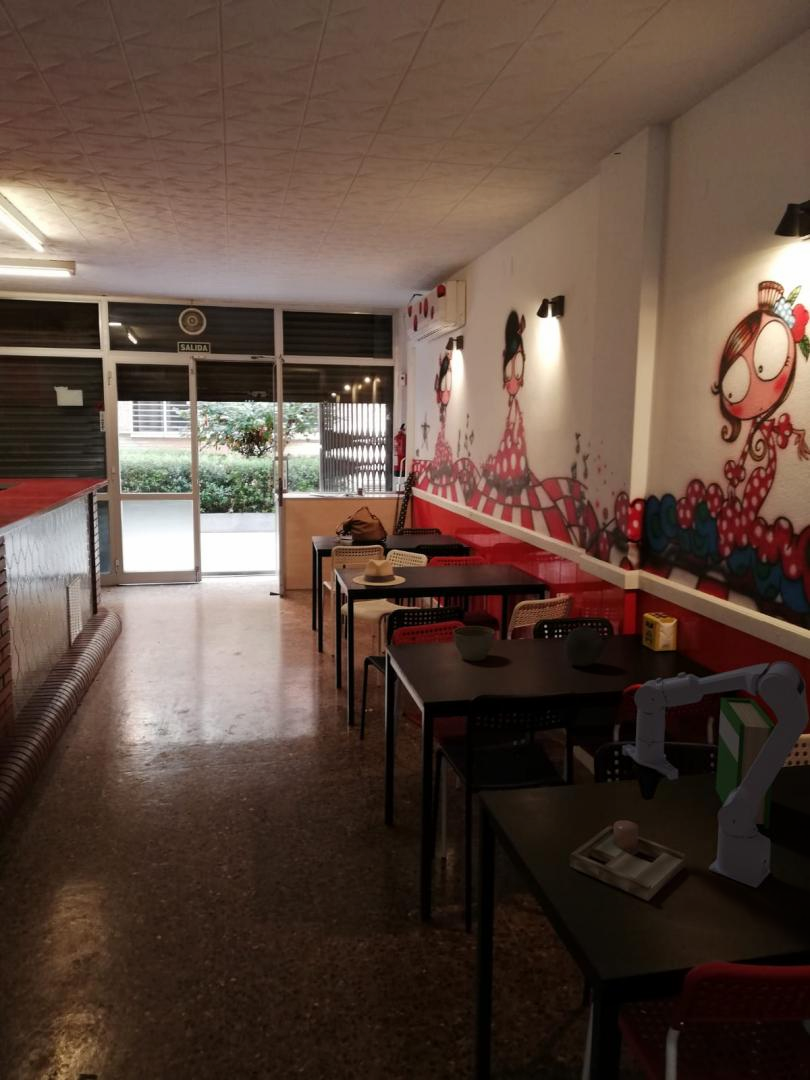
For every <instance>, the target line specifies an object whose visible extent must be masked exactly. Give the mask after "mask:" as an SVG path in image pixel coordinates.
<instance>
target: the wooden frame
mask: <svg viewBox="0 0 810 1080" xmlns="http://www.w3.org/2000/svg"><path fill="white" fill-rule="evenodd" d="M613 839H614V825H608V826H607V827H605V828H604V829H603V830H601V831H600V832H598V833H596V835H594V836H593V837H592V838H590V839H589V840H587V841H586V842H585V843H583V844H581V846H579V847H578V848H577V849H575V850H574V851H572V852H571V853H570V857H569V858H570V859H569V861H570V862H569V867H570V868H572V869H575V870H577V871H579V872H581V873H584V874H586V875H588V876H591V877H592V878H595V879H597V880H600V881H602V882H604V883H606V884H609V885H611V886H613V887H616V888H618V889H620V890H622V891H625V892H627V893H629V894H631V895H634V896H635V897H638V898H640V899H642V900H644V901H648V902H649V901H650V900H651V899H652V898H653V897H654V896H655V895H656V894H658V893H659V891H661V889H663V888H664V887H665V886H666V884H668V883H669V882H670V881H671V880H673V878H674V877H675V876H677V874H679V873H680V871H682V870H683V869H684V868H685V863H686V861H685V860H686V854H685V853H683V852H681V851H678V850H675V849H674V848H671V847H668V846H665V845H662V844H660V843H657V842H655V841H652V840H650V839H647V838H644V837H642V836H639V835H638V848H637V849H635V850H630V851H629V850H622V849H619V848H617V847H616V846H615V845H614V844H613ZM638 853H641V854H645V855H647V856H649V857H651V858H654V860H653V862H650V861H648V860H645V859H642V858H640V857H638V856H636V855H637V854H638ZM591 857H593V858H595V859H597V860H600V861H601V862H602V861H603V862H604V863H606V864H602V863H599V862H598V861H595V860H593V859H591Z"/></svg>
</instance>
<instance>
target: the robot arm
mask: <svg viewBox="0 0 810 1080" xmlns="http://www.w3.org/2000/svg"><path fill="white" fill-rule="evenodd" d="M769 664H770V662H768V663H766V662H765V663H764V662H763V663H759V664H755V665H751V666H746V667H742V668H738V669H734V670H729V671H726V672H725V671H724V672H721V673H717V674H713V675H709V676H705V677H700V676H699V677H698V676H696V675H695V674H693V673H690V674H687V673H686V671H683V672H679V673H678V674H677V676H675V677H669V678H665V679H663V678H662V677H658V678H656V679H650V680H648V681H646V682H645V683H643V684H642V685H641V686H640V687H639V688H638V689H637V690H636V692H635V693H634V696H633V700H634V703H635V705H636V708H637V711H636V712H637V714H636V726H635V730H636V732H635V733H636V734H635V746H634V745H632V744H628V743H627V744H625V745H622V749H621V752H622V753H621V754H622V756H623V755H624V756H626V757H627V756H629V757H631V758H632V759H633V761H635V762H636V763H635V764H631V765H632V766H631V769H632V772H633V773H634V774H635V777H636V780H637V783H638V786H639V791H640V794H641V796H640V797H641V798H642V799H644V800H645V801H649V800H653V799H654V797H655V794H656V790H657V788H658V786H659V783H660V782H661V780H662V778H663V777H664V776H666V778H667V779H668V780H670V781H673V780H676V779H678V778H679V768H676V767H674V766H673V765H672V764H671V763H670V762H669V761H668V760H667V755H666V754H665V732H666V731H665V729H666V708H672V707H678V706H685V705H689V704H695V703H699V702H701V700H702V699H703V696H704V695H710V694H715V693H716V694H717V693H724V692H730V691H731V692H732V691H737V690H744V691H745V692H746V693H748V694H750V695H752V696H753V697H757V696H758V694H759V696H760V697H761V699H762V700H763V701H764V702H765V704H766V705H767V706H768V707H769V708H770V709H771V710H772V711H773V713H774V715H775V716H776V719H777V723H776V725H775V728H774V730H773V731H772V733H771V735H770V736H769V738H768V740H767V741H766V743H765V745H764V747H763V748H762V750H761V752H760V753H759V755H758V757H757V758H756V760H755V762H754V763H753V765H752V767H751V768H750V770H749V772H748V773H747V775H746V777H745V778H744V780H743V781H742V783H741V785H740V786H739V787H738V788H737V789H735V790H732V791H731V792H730V793H729V795H728V797H727V800H726V802H725V803H724V805H723V804H722V807H721V808H720V809H719V810H718V812H717V822H718V834H717V847H716V848H717V851H716V859H715V861H713V862H712V863H711V864H710V865H709V867H708V870H709V871H711V872H714V873H716V874H719V875H721V876H724V877H727V878H730V879H732V880H734V881H737V882H738V883H739V882H740V883H741V884H744V885H747V886H750V887H753V888H756V889H757V888H758V887H759V886H760V885H761V884H762V882H763V881H764V880H765V879H766V877H768V875H769V874H771V870H770V862H771V861H770V860H771V847H772V843H771V839H770V838H768V837H767V836H765V835H763V834H762V833H760V832H759V828H758V827H757V824H756V823H755V821H754V819H755V817H756V815H757V814H758V813H759V810H760V802H761V800H762V798H763V796H764V795H765V793H766V791H767V790H768V788H769V787H770V785H771V783H772V784H773V782H774V780H775V778H776V776H777V775H778V774H779V772H780V770H781V769H782V767H783V766H784V764H785V762H786V760H787V758H788V757H789V756H790V754H791V752H792V750H793V749H794V747H795V746H796V744H797V743H798V741H799V740H800V738H801V736H802V735H803V733H804V731H805V729H806V728H807V726H808V723H809V720H810V716H809V707H808V701H807V692H806V687H807V686H806V685H807V684H806V681H805V679H804V678H803V676H802V674H801V673H800V670H799V669H798V668H797V667H796V666H795V665H794V664H792V663H790V662H788V661H775V662H773V663H771V664H770V665H769Z"/></svg>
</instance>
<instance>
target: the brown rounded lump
mask: <svg viewBox="0 0 810 1080" xmlns="http://www.w3.org/2000/svg"><path fill="white" fill-rule="evenodd" d="M613 827H614V839H613V844H614V845H615V846H616V847H617V848H619V849H622V850H629V851H630V850H635V849H637V848H638V836H639V832H640V831H639V829H640V828H639V826H638V824H636V823H635V822H633V821H630V820H617V821H615V822H614V824H613Z"/></svg>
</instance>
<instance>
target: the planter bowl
mask: <svg viewBox="0 0 810 1080" xmlns="http://www.w3.org/2000/svg"><path fill="white" fill-rule="evenodd" d="M452 634H453V639H454V644H455V647H456V649H457V651H458V652H459V654H460V655H461V658H462V659H463V660H465V661H471V662H472V661H473V662H477V661H478V662H480V661H483V660H485V659H487V655H488V654H489V652H490V651H491V649H492V647H493V645H494V639H495V634H496V632H495V630H494V629H492V628H490V627H486V626H480V625H479V626H478V625H467V626H460V627H456V628H455V629H453V631H452Z"/></svg>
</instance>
